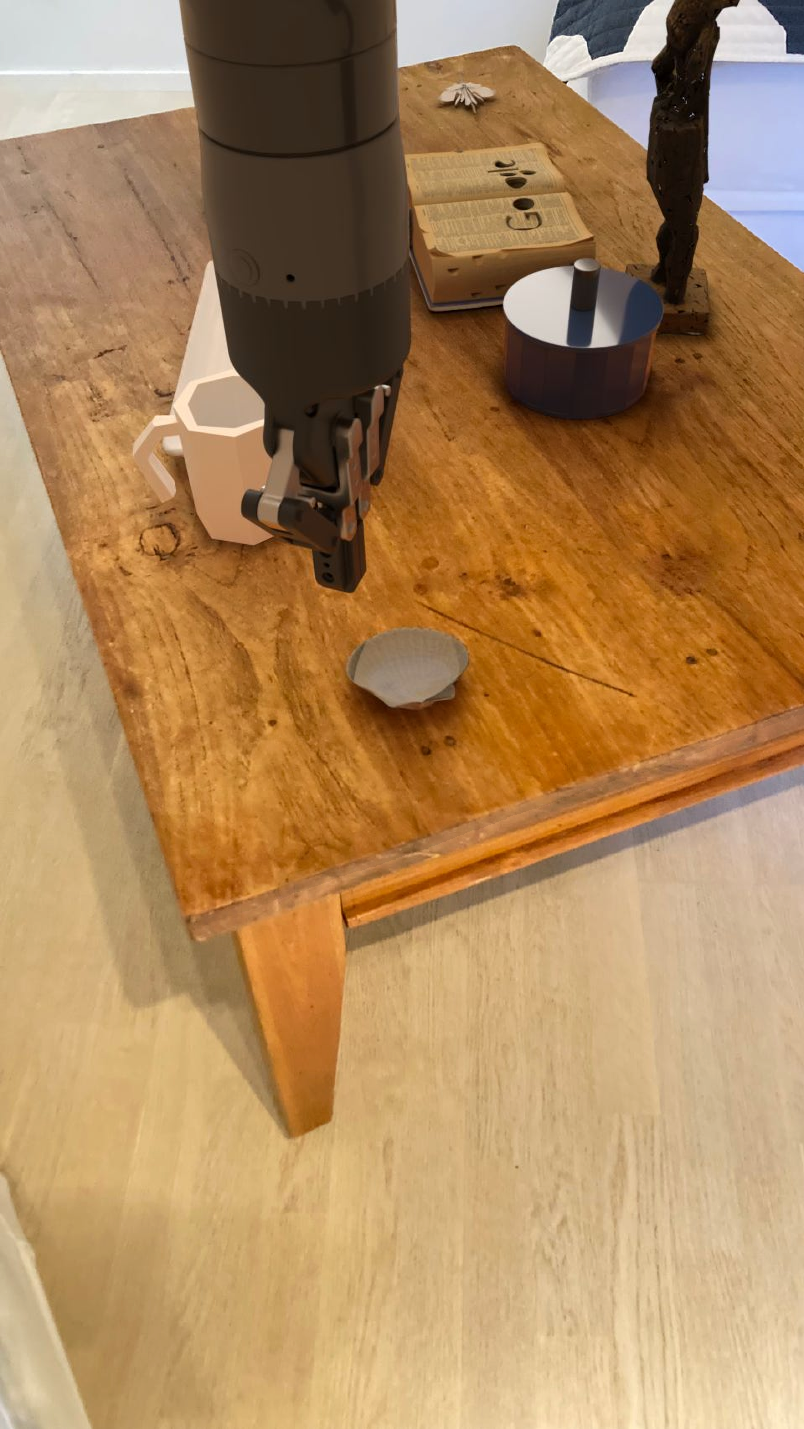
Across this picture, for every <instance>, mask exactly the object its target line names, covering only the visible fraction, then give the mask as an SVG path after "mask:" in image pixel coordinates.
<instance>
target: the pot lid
mask: <svg viewBox="0 0 804 1429" xmlns="http://www.w3.org/2000/svg"><path fill="white" fill-rule="evenodd" d="M658 294H659V293H656V291H655V290H654V289H653V288H651V287H650V286H649V285H648V284H646V283H645V282H643V281H641V280H640V279H638V278H636V277H633V276H631V275H629V274H626V273H625V272H622V271H620V270H616V269H612V268H606V267H602V265H601V263H600V262H599V261H598V260H597V259H595V260H594V259H589V258H584V259H579V260H577V261H576V262H575V263H574V266H563V267H556V268H550V269H545V270H542V271H538V272H535V273H533V274H530V275H528V276H526V277H524V278H522V279H520V280H519V281H517V282H516V283H515V284H514V285H512V286H511V287H510V289H509V290H508V291H507V293H506V295H505V297H504V300H503V304H502V314H503V318H504V320H505V323H506V322H507V324H508V325H509V326H510V327H511V328H512V329H513V330H514V331H515V332H516V333H517V334H519V335H520V336H522V337H523V338H525V339H527V340H529V341H531V342H533V343H535V344H538V345H540V346H543V347H546V348H550V349H554V350H559V351H564V352H571V353H604V352H611V351H616V350H621V349H625V348H628V347H631V346H634V345H636V344H638V343H640V342H642V341H644V340H645V339H647V338H649V337H650V336H651V335H652V334H654V332H655V331H656V330H657V329H658V328H659V326H660V324H661V322H662V318H663V311H664V307H663V303H662V300H661V298H660V297H659V295H658Z"/></svg>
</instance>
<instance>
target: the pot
mask: <svg viewBox="0 0 804 1429" xmlns="http://www.w3.org/2000/svg"><path fill="white" fill-rule="evenodd" d="M504 323H505V326H504V341H503V342H504V343H503V344H504V345H503V348H504V349H503V363H502V371H503V382H504V386H505V388H506V390H507V392H508V393H509V394H510V395H511V397H512V398H513V399H514V400H516V402H518V403H519V404H521V405H522V406H523V407H525V408H527V409H529V410H531V411H534V412H536V413H538V414H540V415H541V414H542V415H544V416H547V417H548V416H549V417H551V418H555V419H556V418H559V419H563V420H575V421H576V420H577V421H578V420H580V421H583V420H585V421H586V420H595V419H601V418H605V417H610V416H613V415H616V414H619V413H622V412H623V411H626V410H628V409H629V408H631V407H632V406H633V405H635V404H636V403H637V402H638V401H639V400H640V399H641V398H642V396H643V395H644V393H645V390H646V387H647V383H648V381H649V378H650V372H651V366H652V359H653V356H654V354H653V353H654V350H655V343H656V336H657V333H656V332H657V330H656V331H655V332H654V334H652V335H651V336H650V337H649V338H647V339H645V340H644V341H642V342H640V343H638V344H636V345H634V346H631V347H628V348H625V349H621V350H616V351H611V352H604V353H571V352H564V351H559V350H554V349H550V348H546V347H543V346H540V345H538V344H535V343H533V342H531V341H529V340H527V339H525V338H523V337H522V336H520V335H519V334H517V333H516V332H515V331H514V330H513V329H512V328H511V327H510V326H509V325H508V324H507V322H506V321H505V322H504Z"/></svg>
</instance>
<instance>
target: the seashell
mask: <svg viewBox="0 0 804 1429" xmlns="http://www.w3.org/2000/svg"><path fill="white" fill-rule="evenodd" d="M469 664H470V653H469V650H468V649H467V647H466V645H465V644H464V643H463V642H461V641H460V639H459V638H456V637H455V636H454V635H453V634H449V633H447V632H445V631H440V630H438V629H435V628H434V629H431V628H429V627H420V626H412V627H408V626H402V627H400V628H398V627H393V628H392V629H390V630H384V631H382V632H380V633H376V634H374V635H373V636H371V637H370V638H367V639H366V640H363V642H362V643H359V644H358V645H357V646H356V648H354V650H352V652H351V653H350V655H349V656H348V659H347V660H346V666H345V674H346V676H347V677H348V678H349V679H350V682H352V684H354V685H356V686H357V687H359V688H360V689H363V690H364V691H366V692H367V693H370V694H371V695H372V696H374V697H376V698H378V699H379V700H380V701H382V702H383V703H384V704H385V705H387V706H388V707H390V708H392V709H407V710H412V711H413V710H414V711H418V710H419V711H421V710H424V709H426V708H429V707H430V706H431V705H434V704H435V703H436V702H441V701H450V700H453V699H454V698H455V696H456V688H455V685H456V684H457V682H458V680H459V679H460V678H461V676H462V674H464V672H465V671H466V669H468V666H469Z"/></svg>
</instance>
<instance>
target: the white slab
mask: <svg viewBox="0 0 804 1429" xmlns="http://www.w3.org/2000/svg"><path fill="white" fill-rule="evenodd" d="M205 266H206V267H205V270H204V274H203V278H202V283H201V287H200V290H199V296H198V300H197V303H196V308H195V312H194V315H193V319H192V323H191V327H190V330H189V334H188V339H187V343H186V347H185V350H184V351H185V352H184V355H183V360H182V364H181V368H180V371H179V376H178V380H177V384H176V388H175V392H174V396H173V399H172V404H171V407H170V411H169V415H175V414H174V409H173V405H174V403H175V402H176V400H177V399H178V398H179V396H180V395H181V393H182V392H183V391H184V389H185V388H186V386H187V385H188V384H189V382H191V381H194V380H198V379H201V378H204V377H208V376H211V375H214V374H217V373H221V372H224V371H227V370H231V369H234V367H233V365H232V363H231V361H230V358H229V354H228V348H227V342H226V336H225V330H224V324H223V318H222V312H221V306H220V300H219V294H218V288H217V282H216V276H215V270H214V264H213V259H212V260H209V262H207V263H206V265H205ZM161 443H162V444H161V445H162V450H163V452H164V453H165V454H167V455H169V456H172V457H181V458H182V457H183V458H184V454H183V449H182V445H181V440H180V436H179V435H176V436H169V437H163V438H162V442H161Z"/></svg>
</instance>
